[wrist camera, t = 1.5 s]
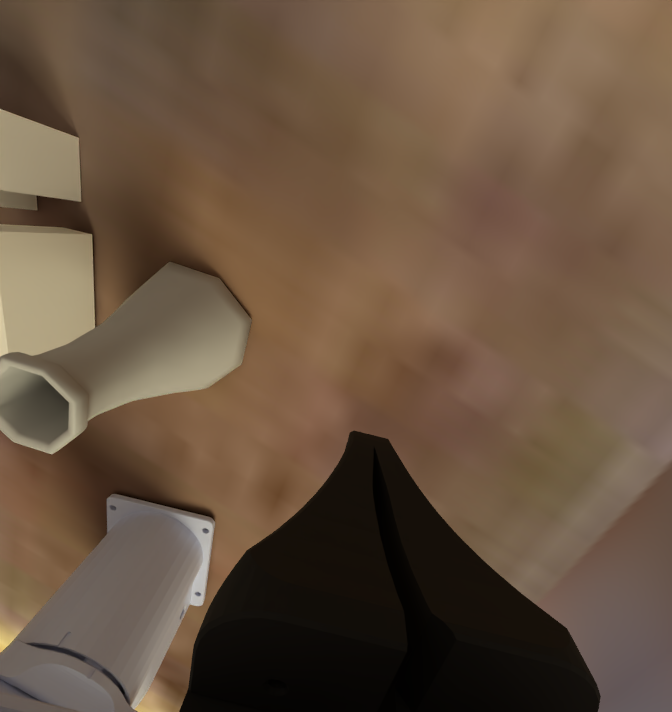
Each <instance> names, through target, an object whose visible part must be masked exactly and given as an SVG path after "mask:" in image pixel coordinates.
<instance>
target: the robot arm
mask: <svg viewBox="0 0 672 712" xmlns="http://www.w3.org/2000/svg"><path fill="white" fill-rule="evenodd" d="M214 527H215V521H214V520H213V519H212V518H211V517H208V516H204V515H200V514H196V513H191V512H187V511H183V510H179V509H175V508H171V507H167V506H163V505H159V504H155V503H151V502H147V501H143V500H139V499H135V498H131V497H127V496H123V495H118V494H111V495H110V496H109V497H108V498H107V535H106V536H105V537H104V538H103V539H102V540H101V542H100V543H99V544H98V545H97V546H96V547H95V548H94V549H93V551H92V552H91V553H90V554H89V555H88V556H87V557H86V559H85V560H84V561H83V562H82V563H81V564H80V565H79V566H78V568H77V569H76V570H75V571H74V572H73V573H72V574H71V576H70V577H69V578H68V579H67V580H66V581H65V582H64V583H63V585H62V586H61V587H60V588H59V589H58V590H57V591H56V593H55V594H54V595H53V596H52V597H51V598H50V599H49V600H48V602H47V603H46V604H45V605H44V606H43V607H42V608H41V610H40V611H39V612H38V613H37V614H36V615H35V616H34V617H33V619H32V620H31V621H30V622H29V623H28V624H27V625H26V627H25V628H24V629H23V630H22V631H21V632H20V633H19V634H18V636H17V637H16V638H15V639H14V640H13V641H12V642H11V644H10V645H9V646H8V647H6V648H5V649H4V650H3V651H2V652H1V653H0V712H137V711H136V710H134V709H135V708H136V707H137V705H138V704H139V703H140V702H141V700H142V699H143V697H144V696H145V694H146V693H147V691H148V689H149V687H150V685H151V683H152V681H153V679H154V677H155V675H156V673H157V671H158V669H159V667H160V665H161V663H162V661H163V659H164V656H165V654H166V652H167V650H168V648H169V646H170V644H171V642H172V640H173V638H174V636H175V634H176V632H177V629H178V627H179V625H180V623H181V621H182V619H183V617H184V615H185V613H186V611H187V609H188V607H189V605H190V604H191V605H195V606H201V605H202V604H203V602H204V600H205V594H206V587H207V579H208V572H209V564H210V557H211V549H212V542H213V534H214ZM599 703H600V693H599V690H598V687H597V684H596V682H595V680H594V678H593V676H592V674H591V673H590V671H589V669H588V667H587V665H586V663H585V661H584V659H583V657H582V656H581V654H580V652H579V650H578V648H577V646H576V644H575V642H574V640H573V639H572V637H571V635H570V633H569V632H568V630H567V628H565V627H564V626H563V625H562V624H560V623H559V622H558V621H556V620H555V619H554V618H552V617H551V616H550V615H549V614H547V613H546V612H545V611H543V610H542V609H541V608H539V607H538V606H537V605H535V604H534V603H533V602H532V601H530V600H529V599H528V598H526V597H525V596H524V595H522V594H521V593H520V592H519V591H518V590H516V589H515V588H514V587H513V586H512V585H510V584H509V583H508V582H507V581H506V580H505V579H503V578H502V577H501V576H500V575H499V574H498V573H496V572H495V571H494V570H493V569H492V568H491V567H490V566H489V565H488V564H487V563H485V562H484V561H483V560H482V559H481V558H480V557H479V556H478V555H477V554H476V553H475V552H474V551H473V550H472V549H471V548H470V547H469V546H468V545H467V544H466V543H465V542H464V541H463V540H462V539H461V538H460V537H459V536H458V535H457V534H456V533H455V532H454V531H453V530H452V528H451V527H450V526H449V525H448V524H447V523H446V522H445V520H444V519H443V518H442V517H441V516H440V515H439V514H438V512H437V511H436V510H435V509H434V507H433V506H432V505H431V504H430V502H429V501H428V500H427V498H426V497H425V496H424V494H423V493H422V492H421V490H420V489H419V488H418V486H417V485H416V483H415V482H414V480H413V479H412V477H411V476H410V474H409V473H408V471H407V470H406V468H405V466H404V465H403V463H402V462H401V460H400V458H399V457H398V455H397V453H396V452H395V450H394V448H393V447H392V445H391V443H390V442H389V440H388V439H386V438H382V437H378V436H374V435H370V434H366V433H362V432H357V431H352V432H350V435H349V438H348V442H347V445H346V449H345V452H344V454H343V456H342V458H341V460H340V461H339V463H338V465H337V466H336V468H335V469H334V471H333V472H332V474H331V475H330V477H329V478H328V479H327V481H326V482H325V483H324V484H323V486H322V487H321V488H320V489H319V490H318V492H317V493H316V494H315V495H314V496H313V497H312V498H311V499H310V500H309V501H308V502H307V503H306V504H305V506H304V507H303V508H301V509H300V510H299V511H298V512H297V513H296V514H295V515H294V516H293V517H291V518H290V519H289V520H288V521H287V522H285V523H284V524H283V525H282V526H281V527H280V528H278V529H277V530H276V531H274V532H273V533H272V534H270V535H269V536H267V537H266V538H265V539H263V540H262V541H260V542H259V543H257V544H256V545H254V546H253V547H251V548H250V549H248V550H247V551H246V552H245V554H244V555H243V556H242V558H241V559H240V560H239V562H238V563H237V564H236V566H235V567H234V568H233V570H232V571H231V572H230V574H229V575H228V577H227V578H226V580H225V581H224V583H223V584H222V586H221V587H220V589H219V590H218V592H217V594H216V596H215V597H214V599H213V601H212V603H211V605H210V606H209V609H208V611H207V613H206V615H205V618H204V620H203V623H202V625H201V628H200V630H199V633H198V635H197V638H196V641H195V644H194V648H193V656H192V664H191V672H190V680H189V688H188V691H187V694H186V696H185V699H184V701H183V704H182V706H181V709H180V711H179V712H598V709H599Z"/></svg>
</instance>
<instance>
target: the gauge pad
mask: <svg viewBox="0 0 672 712" xmlns="http://www.w3.org/2000/svg"><path fill="white" fill-rule="evenodd" d="M94 328H95V310H94V276H93V243H92V234H88V233H84V232H80V231H76V230H72V229H68V228H64V227H46V226H27V225H8V224H0V357H1V356H2V355H5V354H7V353H11V352H21V353H25V354H28V355H31V356H33V355H38V354H41V353H44V352H47V351H50V350H53V349H55V348H58V347H61V346H64V345H66V344H68V343H70V342H72V341H73V340H75V339H77V338H79V337H80V336H82V335H84V334H85V333H87V332H89V331H90V330H92V329H94Z"/></svg>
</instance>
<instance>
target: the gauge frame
mask: <svg viewBox="0 0 672 712" xmlns="http://www.w3.org/2000/svg"><path fill="white" fill-rule="evenodd" d="M36 195H38V196H44V197H51V198H58V199H65V200H72V201H79V202H81V181H80V155H79V138H78V137H75V136H72V135H70V134H67V133H64V132H62V131H59V130H56V129H53V128H51V127H48V126H45V125H43V124H40V123H37V122H35V121H32V120H29V119H26V118H24V117H21V116H18V115H16V114H13V113H10V112H7V111H5V110H2V109H0V207H7V208H17V209H27V210H37V211H38V209H37V197H36Z"/></svg>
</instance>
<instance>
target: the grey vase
mask: <svg viewBox="0 0 672 712" xmlns="http://www.w3.org/2000/svg"><path fill="white" fill-rule="evenodd" d="M251 323H252V319H251V318H250V317H249V316H248V314H247V313H246V312H245V310H244V309H243V308H242V307H241V305H240V304H239V303H238V302H237V300H236V299H235V298H234V296H233V295H232V294H231V293H230V291H229V290H228V289H227V287H226V286H225V285H224V284H223V282H222V281H221V280H220V278H217V277H214V276H211V275H208V274H205V273H202V272H199V271H197V270H194V269H191V268H188V267H185V266H182V265H179V264H176V263H173V262H170V261H169V262H168V263H167V264H166V265H165V266H164V267H162V268H161V269H160V270H159V271H158V272H157V273H156V274H154V275H153V276H152V277H151V278H150V279H149V280H148V281H146V282H145V283H144V284H143V285H142V286H141V287H140V288H138V289H137V290H136V291H135V292H134V293H133V294H132V295H131V296H129V297H128V298H127V299H126V300H125V301H124V302H123V304H122V305H121V306H120V307H119V308H118V309H117V310H116V311H115V312H114V313H113V314H112V315H111V316H110V317H109V318H107V319H106V320H105V321H104V322H103V323H102V324H101V325H99V326H97V327H95V328H94V329H92V330H90V331H89V332H87V333H85V334H84V335H82V336H80V337H79V338H77V339H75V340H73V341H72V342H70V343H68V344H66V345H64V346H61V347H58V348H55V349H53V350H50V351H47V352H44V353H41V354H38V355H33V356H31V355H28V354H25V353H21V352H11V353H7V354H5V355H2V356H1V357H0V430H1V431H2V432H3V433H4V434H5V435H6V436H7V437H8V438H9V439H11V440H12V441H13V442H14V443H18V444H21V445H24V446H27V447H30V448H33V449H37V450H40V451H43V452H46V453H49V454H53V453H55V452H57V451H58V450H60V449H61V448H62V447H64V446H65V445H66V444H68V443H69V442H70V441H72V440H73V439H74V438H76V437H77V436H78V435H80V434H81V433H82V432H83V431H84V430H85V429H86V428H87V424H88V421H89V420H90V419H92V418H93V417H95V416H97V415H99V414H101V413H104V412H106V411H109V410H111V409H114V408H116V407H119V406H121V405H124V404H126V403H129V402H131V401H134V400H140V399H145V398H150V397H155V396H160V395H166V394H171V393H177V392H185V391H192V390H200V389H205V388H208V387H210V386H211V385H213V384H214V383H216V382H217V381H219V380H220V379H221V378H223V377H224V376H226V375H227V374H229V373H230V372H231V371H233V370H234V369H236V368H237V367H239V366H240V365H241V364H242V361H243V357H244V352H245V348H246V344H247V340H248V335H249V331H250V327H251Z"/></svg>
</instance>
